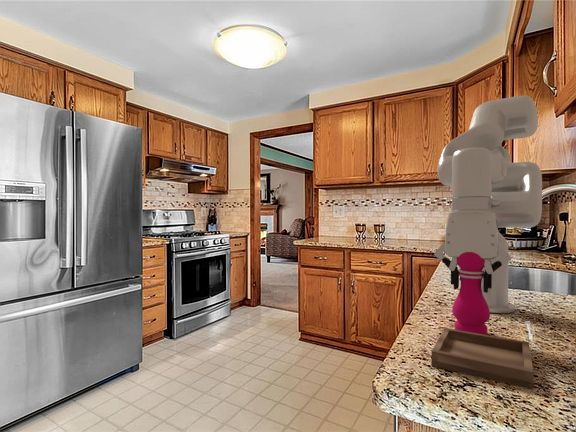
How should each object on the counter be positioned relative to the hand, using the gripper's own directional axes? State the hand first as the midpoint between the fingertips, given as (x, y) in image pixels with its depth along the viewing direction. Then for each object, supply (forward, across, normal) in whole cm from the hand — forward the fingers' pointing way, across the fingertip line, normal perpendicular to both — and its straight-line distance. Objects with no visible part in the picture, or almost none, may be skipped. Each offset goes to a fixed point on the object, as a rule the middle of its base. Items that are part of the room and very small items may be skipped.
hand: (470, 289), depth 74 cm
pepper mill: (+10, 0, 0) cm, 10 cm away
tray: (+9, -3, +15) cm, 18 cm away
